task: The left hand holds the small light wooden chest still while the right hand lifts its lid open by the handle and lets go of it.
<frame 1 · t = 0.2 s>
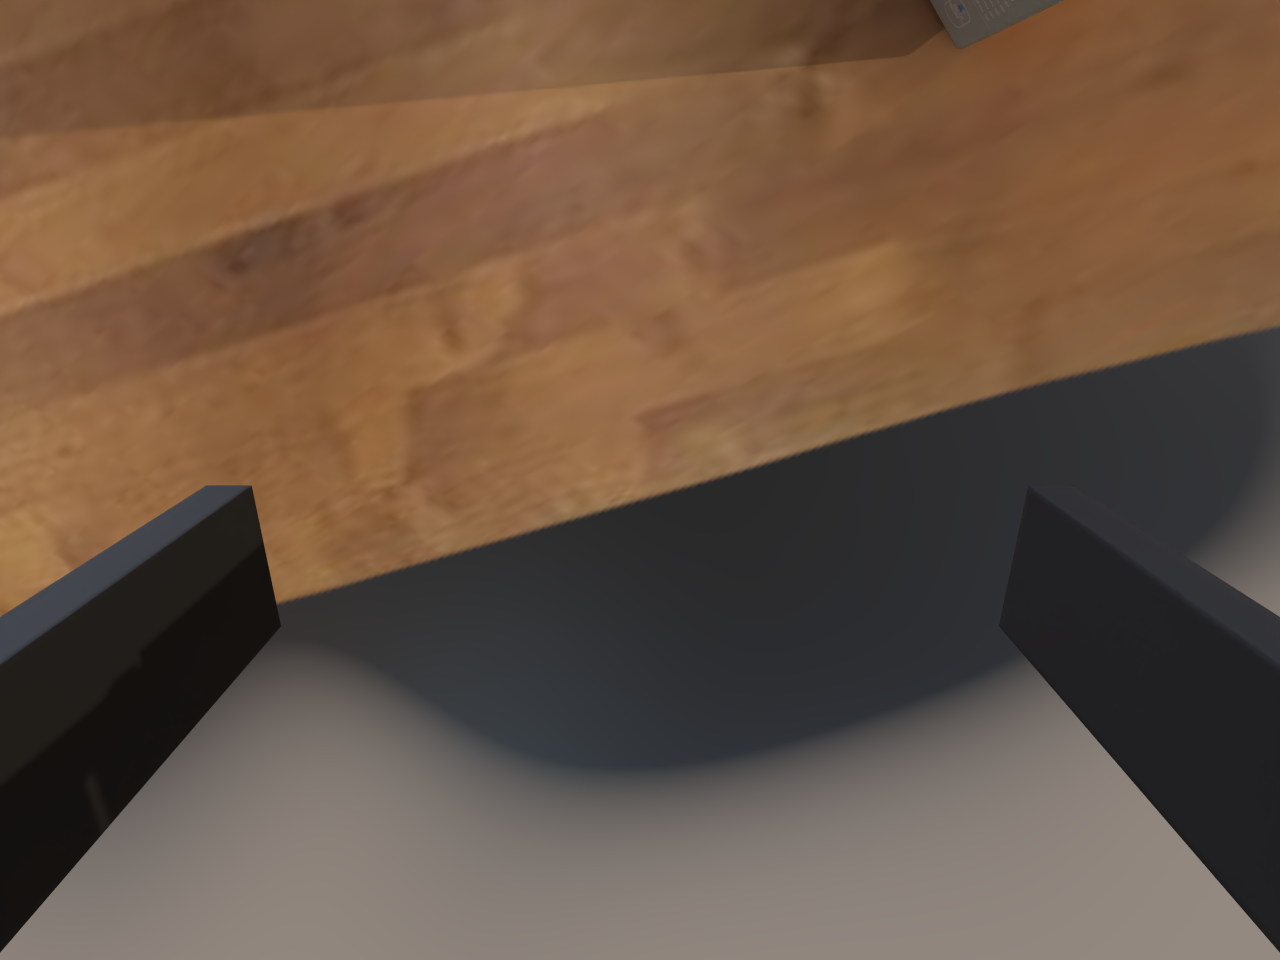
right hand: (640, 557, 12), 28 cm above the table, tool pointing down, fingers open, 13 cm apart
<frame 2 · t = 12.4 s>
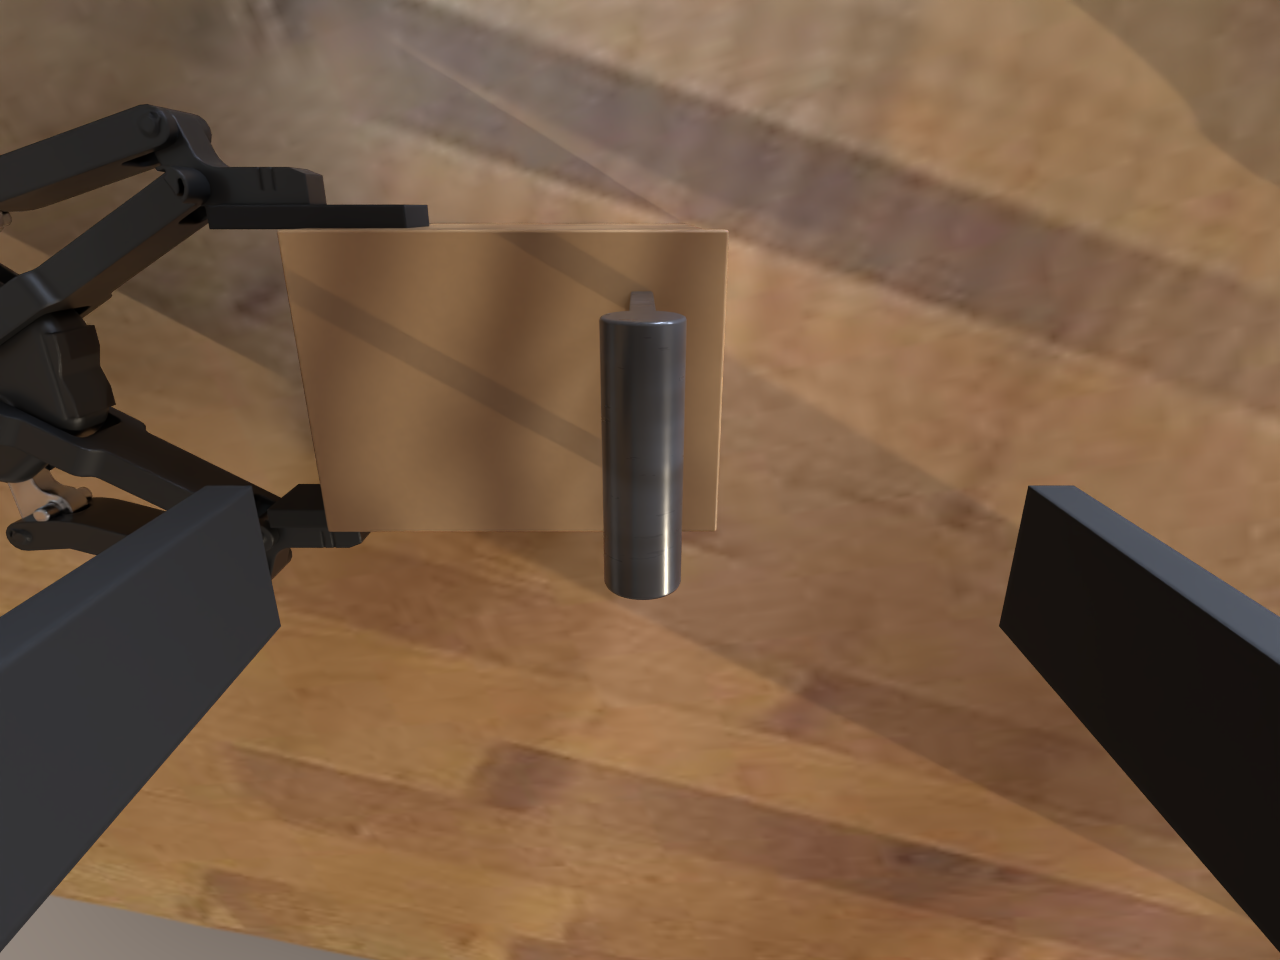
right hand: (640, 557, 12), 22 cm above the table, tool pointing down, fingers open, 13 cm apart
left hand: (433, 371, 27), fingers closed on chest, 10 cm apart
chest: (542, 339, 33), on the table, touching left hand
lid: (493, 421, 20), point 13 cm above the table, hinge at 0.0°
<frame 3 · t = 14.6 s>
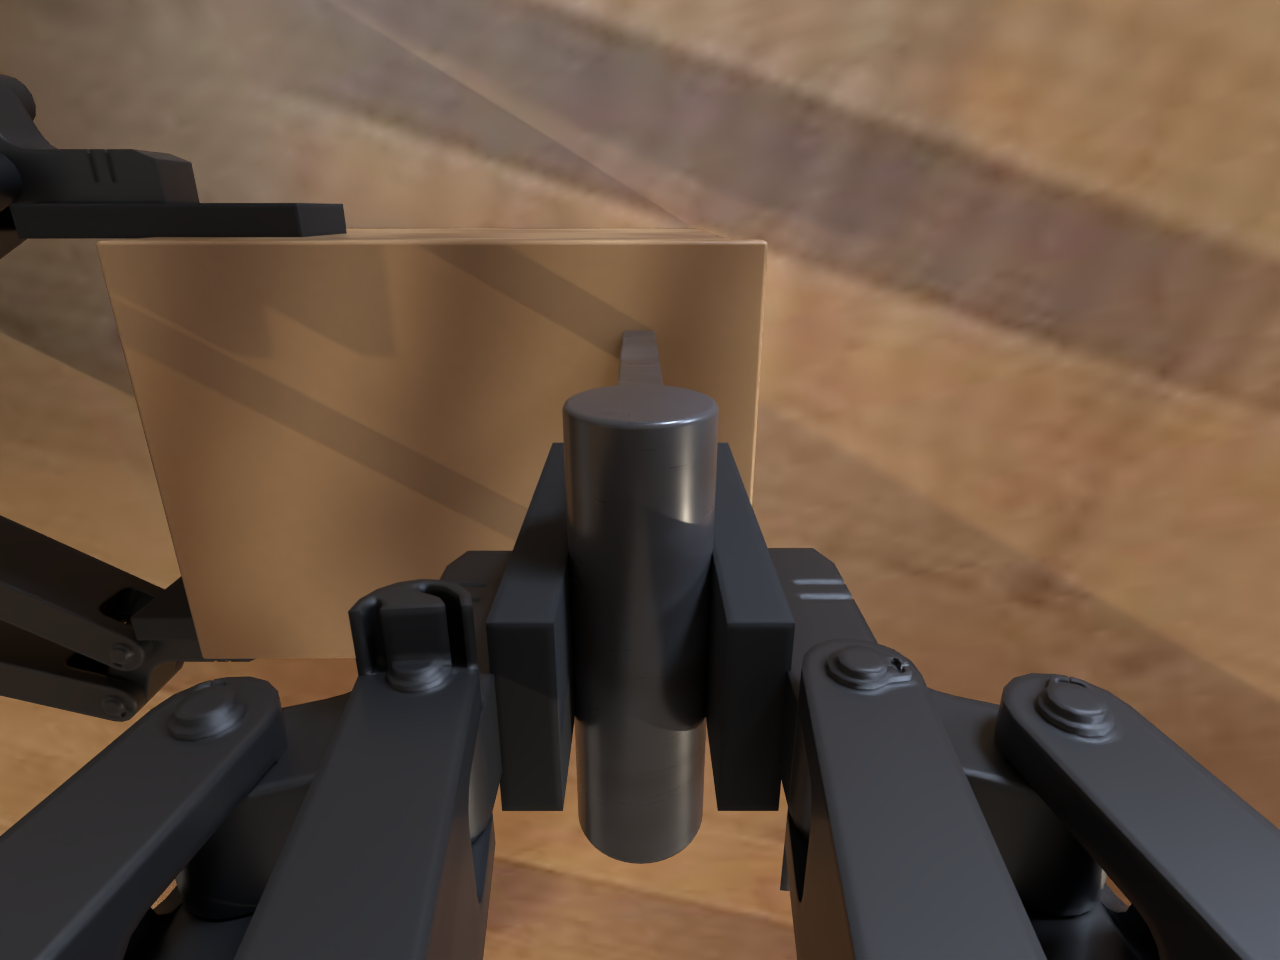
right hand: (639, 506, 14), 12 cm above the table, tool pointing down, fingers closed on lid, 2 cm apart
chest: (512, 376, 26), on the table, touching left hand
lid: (410, 536, 13), point 13 cm above the table, hinge at -0.1°, touching right hand
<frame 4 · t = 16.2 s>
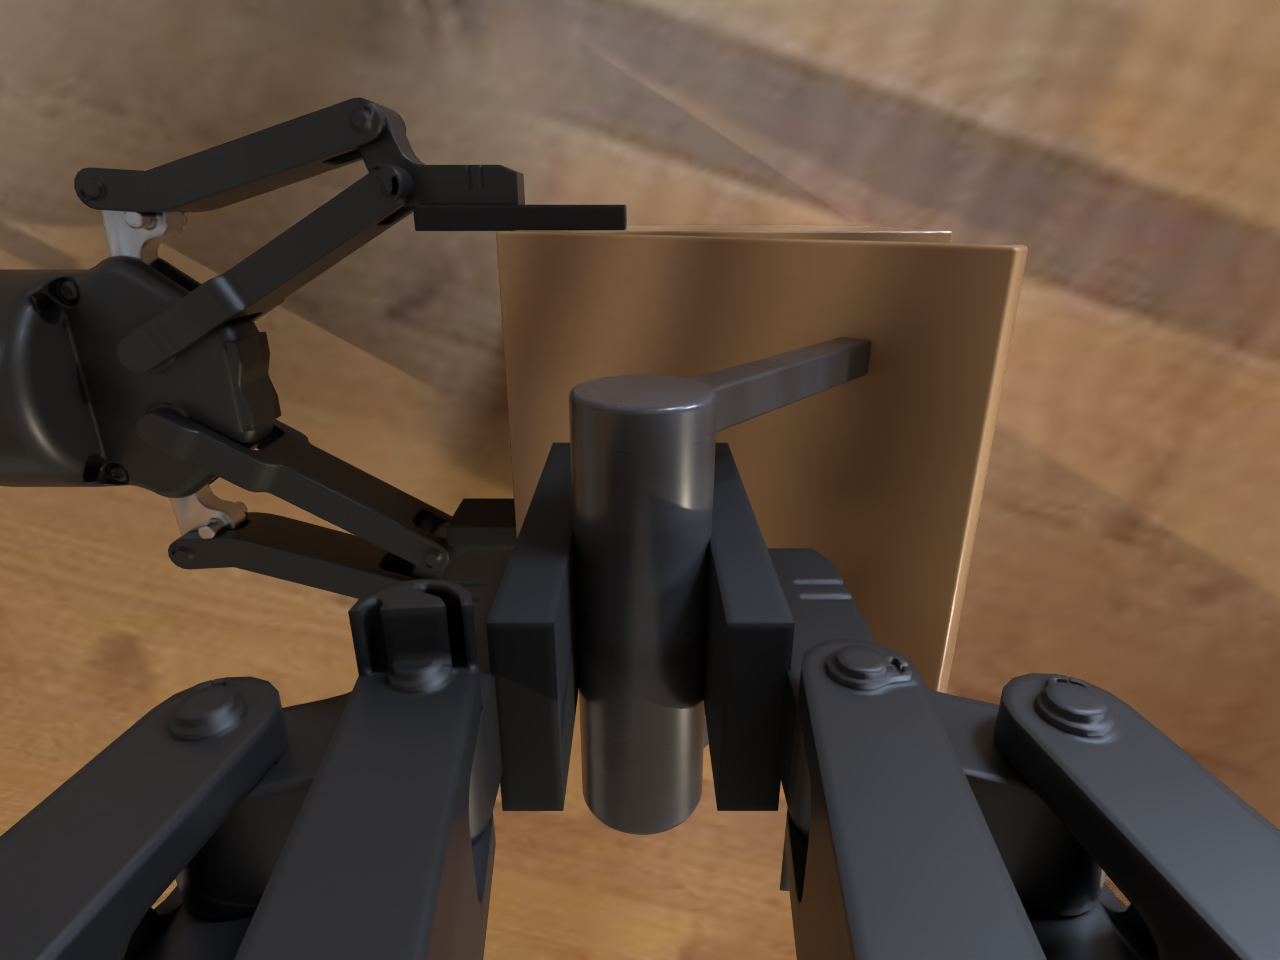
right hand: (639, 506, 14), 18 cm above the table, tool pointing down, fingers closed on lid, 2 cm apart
left hand: (626, 380, 25), fingers closed on chest, 10 cm apart
chest: (701, 346, 31), on the table, touching left hand
lid: (589, 486, 16), point 17 cm above the table, hinge at 40.4°, touching right hand
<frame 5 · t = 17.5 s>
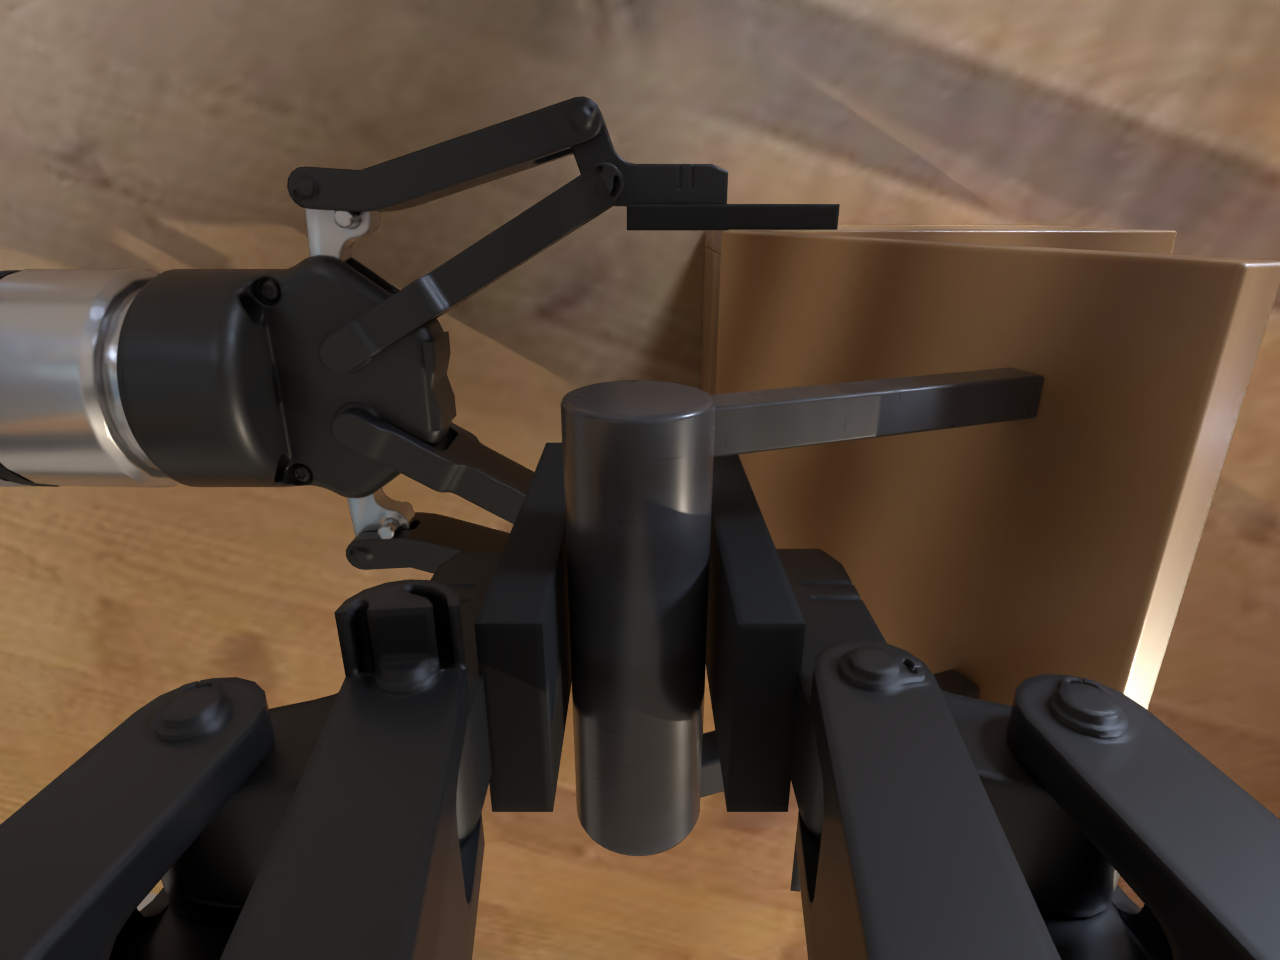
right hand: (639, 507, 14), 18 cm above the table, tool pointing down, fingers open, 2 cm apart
left hand: (813, 380, 25), fingers closed on chest, 10 cm apart
chest: (850, 346, 31), on the table, touching left hand
lid: (711, 494, 15), point 17 cm above the table, hinge at 69.6°
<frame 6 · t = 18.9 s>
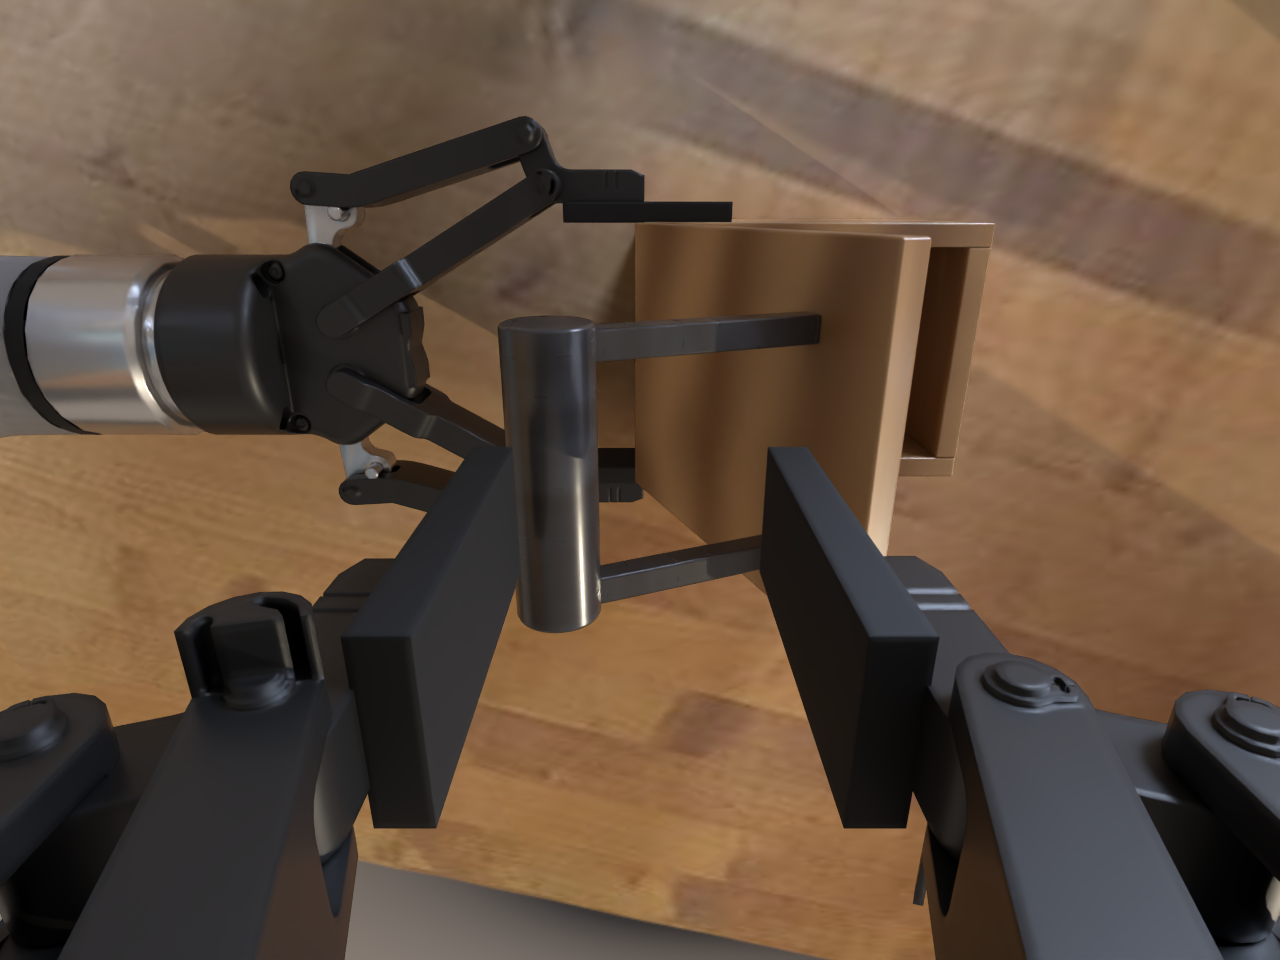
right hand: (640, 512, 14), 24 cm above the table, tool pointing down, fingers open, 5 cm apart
left hand: (722, 346, 31), fingers closed on chest, 10 cm apart
chest: (768, 322, 37), on the table, touching left hand
lid: (618, 414, 21), point 18 cm above the table, hinge at 67.3°
when the left hand's fingers open (7 cm above the table, at t = 21.8 s): chest stays where it is, on the table.
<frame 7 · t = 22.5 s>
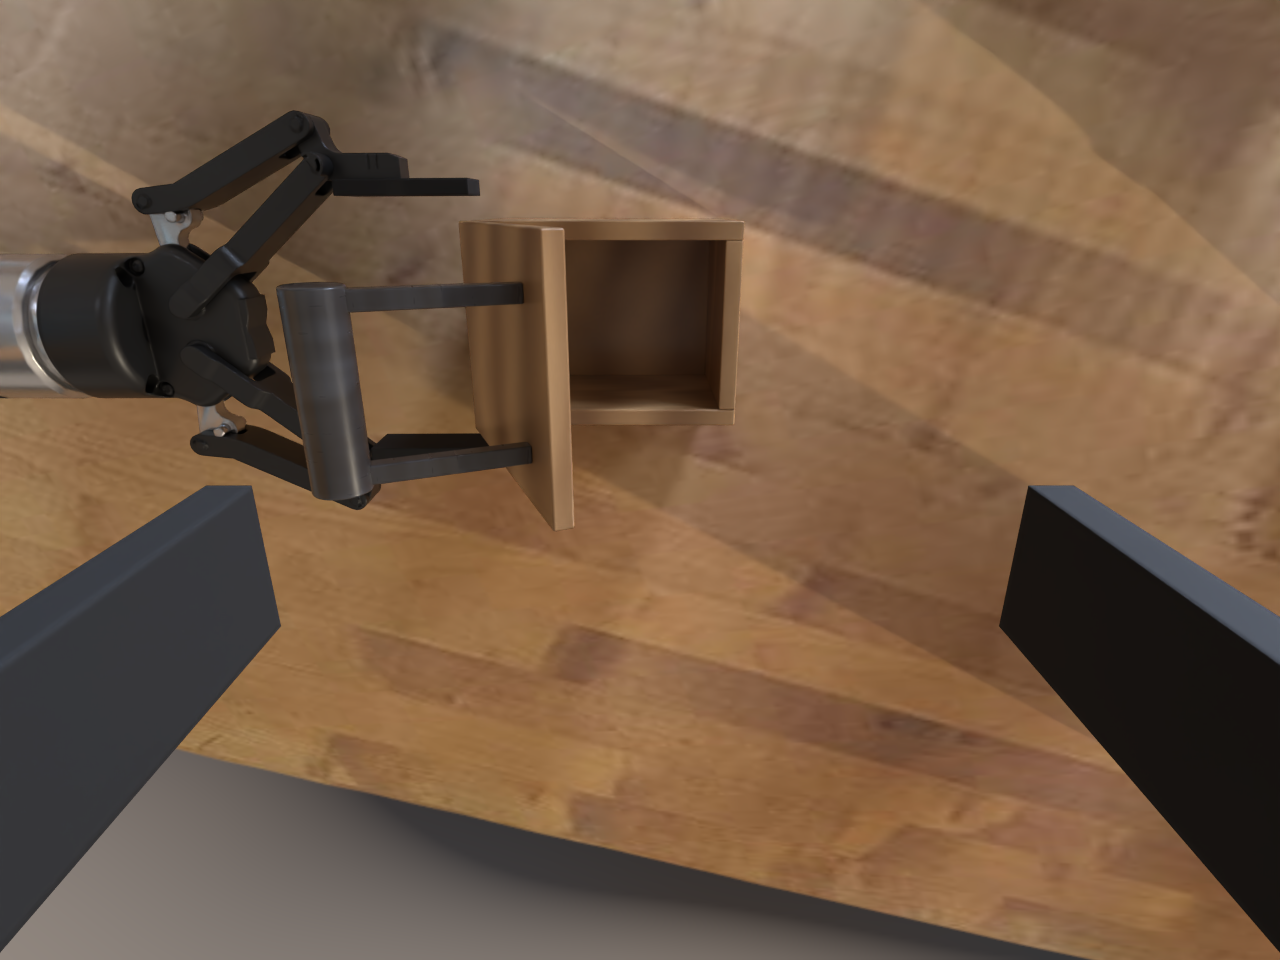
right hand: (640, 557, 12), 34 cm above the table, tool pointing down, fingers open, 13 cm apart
left hand: (486, 325, 38), fingers open, 13 cm apart
chest: (614, 305, 44), on the table
lid: (413, 361, 28), point 18 cm above the table, hinge at 66.7°
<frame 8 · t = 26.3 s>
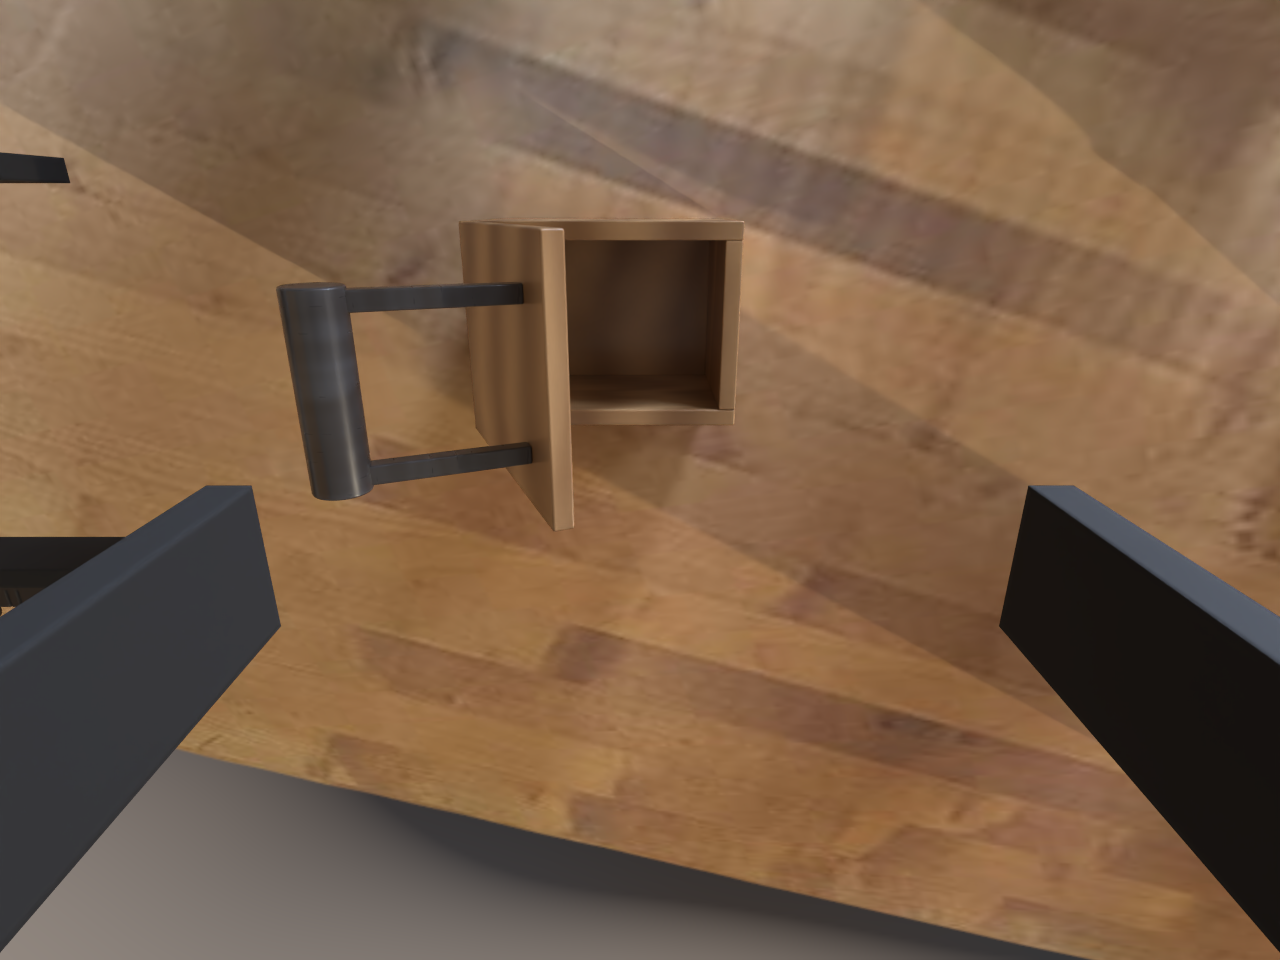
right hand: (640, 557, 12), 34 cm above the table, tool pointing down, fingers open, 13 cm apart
chest: (614, 305, 44), on the table
lid: (413, 361, 28), point 18 cm above the table, hinge at 66.7°
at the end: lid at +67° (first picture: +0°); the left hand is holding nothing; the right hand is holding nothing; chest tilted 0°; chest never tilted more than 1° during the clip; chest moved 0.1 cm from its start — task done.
